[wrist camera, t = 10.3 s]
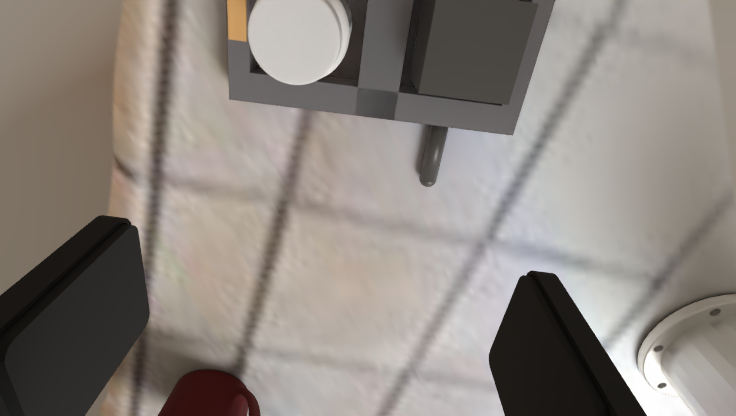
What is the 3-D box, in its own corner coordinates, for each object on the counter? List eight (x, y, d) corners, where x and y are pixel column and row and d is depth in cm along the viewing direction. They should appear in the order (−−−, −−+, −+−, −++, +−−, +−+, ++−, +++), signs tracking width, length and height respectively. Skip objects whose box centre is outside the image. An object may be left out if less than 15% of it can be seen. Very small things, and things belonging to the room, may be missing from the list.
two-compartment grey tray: (554, -44, 23) (598, -51, 19) (484, 189, 30) (504, 224, 26) (234, -95, 22) (201, -115, 18) (239, 160, 29) (217, 192, 25)
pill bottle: (272, -27, 23) (231, -32, 16) (354, -21, 24) (350, -23, 16) (276, 59, 26) (241, 89, 18) (350, 64, 26) (345, 96, 19)
